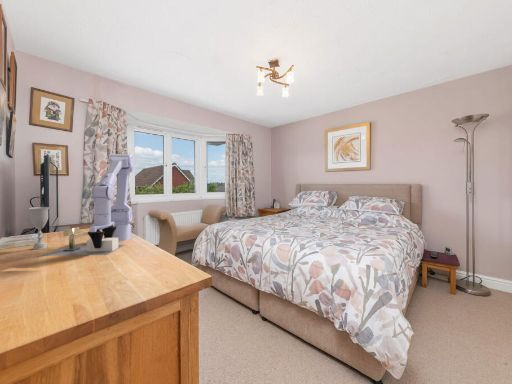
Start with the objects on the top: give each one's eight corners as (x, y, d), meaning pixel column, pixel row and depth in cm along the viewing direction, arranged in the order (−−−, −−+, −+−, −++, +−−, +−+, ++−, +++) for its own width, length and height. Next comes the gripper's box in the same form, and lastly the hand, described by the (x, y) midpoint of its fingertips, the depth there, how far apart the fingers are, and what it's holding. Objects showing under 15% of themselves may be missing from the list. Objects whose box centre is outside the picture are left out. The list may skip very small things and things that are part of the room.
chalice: (33, 246, 104) (32, 207, 103) (52, 245, 107) (52, 206, 106) (25, 251, 97) (24, 208, 97) (46, 249, 100) (45, 208, 99)
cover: (94, 248, 100) (94, 237, 100) (118, 247, 101) (118, 237, 100) (86, 251, 95) (86, 240, 95) (112, 251, 96) (112, 240, 95)
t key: (62, 250, 93) (62, 229, 93) (87, 242, 106) (87, 224, 105) (66, 250, 93) (66, 230, 93) (90, 242, 105) (90, 224, 105)
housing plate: (69, 247, 103) (69, 244, 103) (125, 246, 106) (125, 243, 106) (41, 258, 89) (41, 254, 88) (106, 257, 91) (106, 253, 91)
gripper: (102, 211, 104) (102, 241, 104) (81, 216, 90) (81, 250, 90) (119, 212, 105) (119, 241, 105) (100, 216, 90) (100, 250, 91)
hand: (103, 245), depth 98 cm, fingers open, 7 cm apart
